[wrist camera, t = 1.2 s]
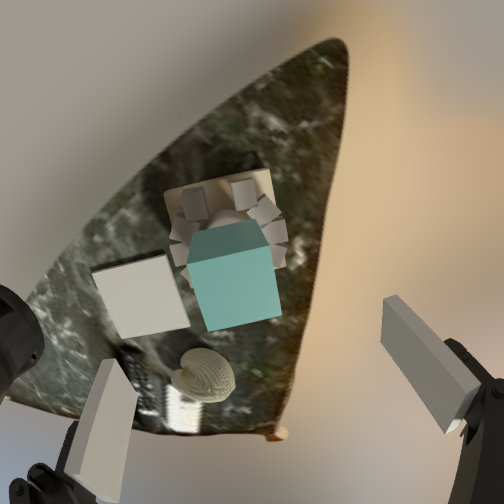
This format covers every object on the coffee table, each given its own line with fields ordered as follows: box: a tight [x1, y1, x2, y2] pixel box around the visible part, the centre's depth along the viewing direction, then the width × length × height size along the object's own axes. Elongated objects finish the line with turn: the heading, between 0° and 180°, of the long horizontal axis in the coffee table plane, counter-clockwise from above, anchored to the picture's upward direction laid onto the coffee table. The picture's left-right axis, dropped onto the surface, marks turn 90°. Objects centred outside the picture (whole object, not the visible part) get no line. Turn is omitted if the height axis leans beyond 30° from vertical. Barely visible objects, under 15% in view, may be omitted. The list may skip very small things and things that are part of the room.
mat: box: [92, 254, 190, 339], centre depth 34 cm, size 10×10×1 cm
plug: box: [186, 209, 282, 332], centre depth 25 cm, size 7×5×13 cm
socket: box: [163, 168, 288, 288], centre depth 30 cm, size 11×11×6 cm
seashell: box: [171, 348, 235, 403], centre depth 38 cm, size 8×8×8 cm
